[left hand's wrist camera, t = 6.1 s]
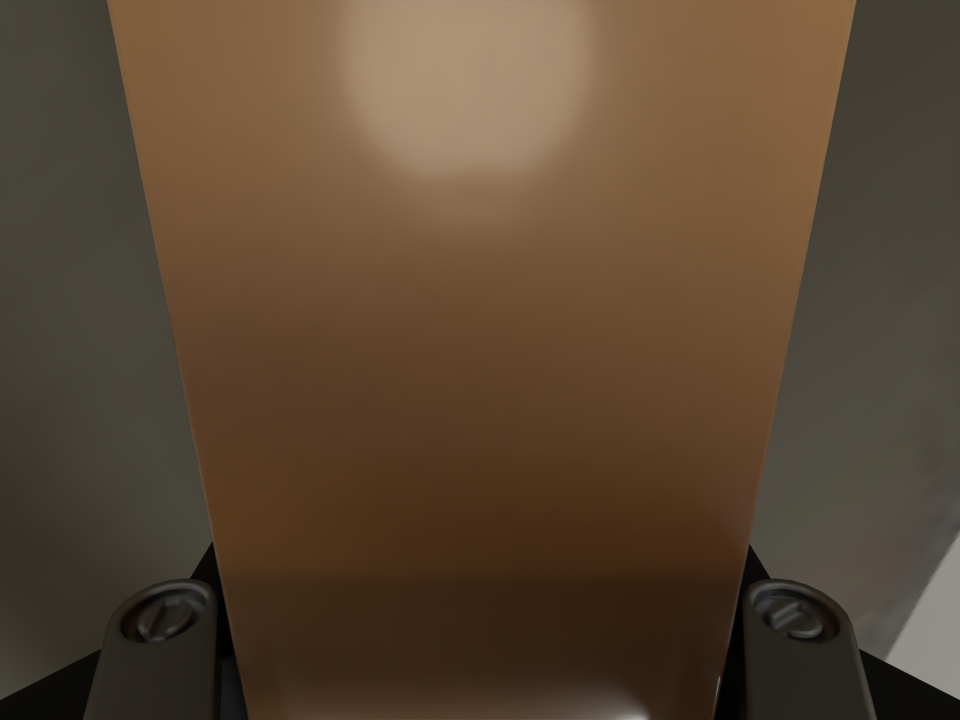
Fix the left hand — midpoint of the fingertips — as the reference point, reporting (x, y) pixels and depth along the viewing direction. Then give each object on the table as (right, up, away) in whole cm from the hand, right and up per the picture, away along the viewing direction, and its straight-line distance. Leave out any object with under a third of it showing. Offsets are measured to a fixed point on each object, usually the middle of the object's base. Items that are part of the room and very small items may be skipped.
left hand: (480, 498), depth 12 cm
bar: (0, +26, -7) cm, 27 cm away
